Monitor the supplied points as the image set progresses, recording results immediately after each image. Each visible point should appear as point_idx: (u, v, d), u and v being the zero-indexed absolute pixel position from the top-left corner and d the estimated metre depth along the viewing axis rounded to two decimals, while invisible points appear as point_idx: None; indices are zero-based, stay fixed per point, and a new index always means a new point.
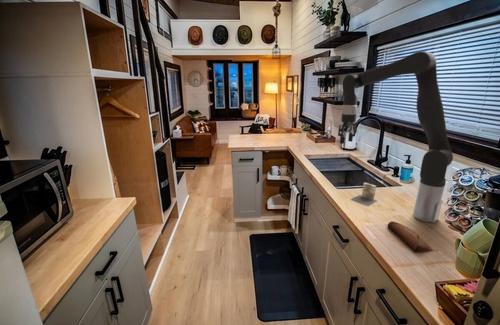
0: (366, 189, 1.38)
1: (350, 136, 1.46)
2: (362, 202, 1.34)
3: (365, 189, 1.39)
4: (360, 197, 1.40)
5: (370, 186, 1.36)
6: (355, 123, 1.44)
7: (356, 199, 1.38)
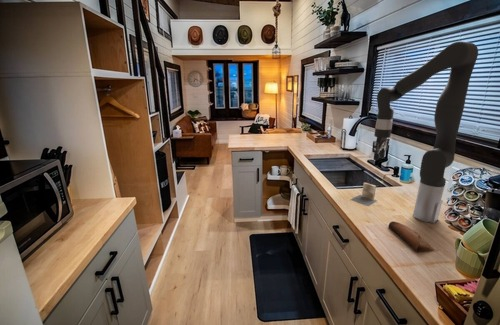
0: (366, 189, 1.38)
1: (382, 152, 1.38)
2: (362, 202, 1.34)
3: (365, 189, 1.39)
4: (360, 197, 1.40)
5: (370, 186, 1.36)
6: (388, 138, 1.37)
7: (356, 199, 1.38)
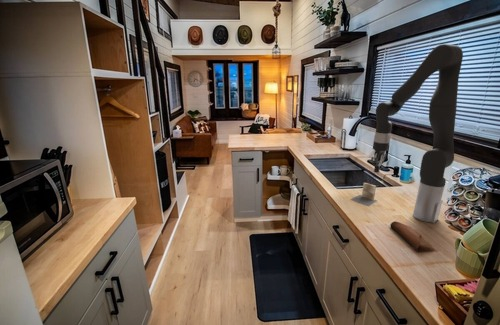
0: (366, 189, 1.38)
1: None
2: (362, 202, 1.34)
3: (365, 189, 1.39)
4: (360, 197, 1.40)
5: (370, 186, 1.36)
6: (386, 154, 1.39)
7: (356, 199, 1.38)
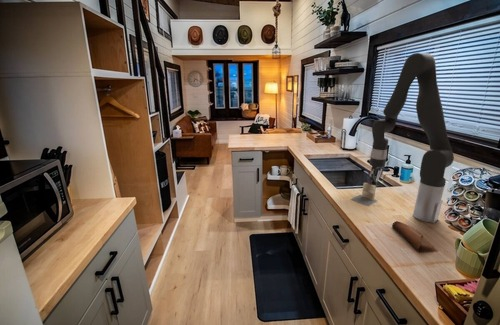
0: (366, 189, 1.38)
1: None
2: (362, 202, 1.34)
3: (365, 189, 1.39)
4: (360, 197, 1.40)
5: (370, 186, 1.36)
6: None
7: (356, 199, 1.38)
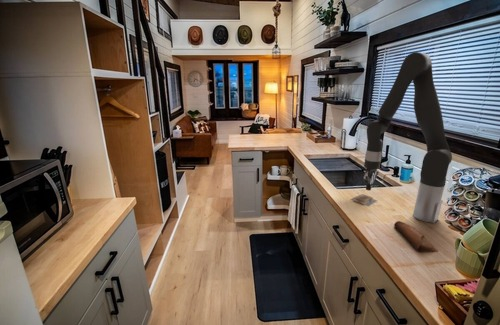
0: None
1: None
2: None
3: None
4: None
5: None
6: None
7: None
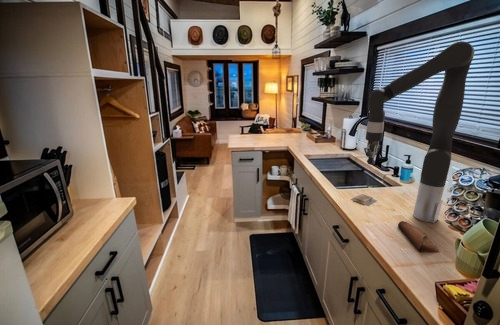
0: None
1: None
2: None
3: None
4: None
5: None
6: (380, 145, 1.32)
7: None
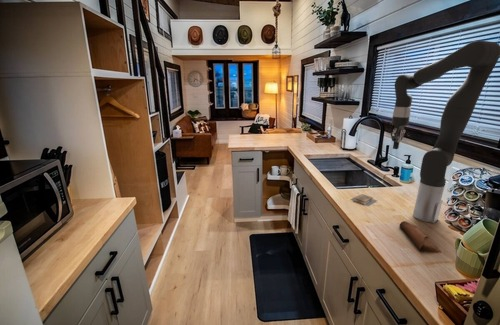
0: None
1: None
2: None
3: None
4: None
5: None
6: (405, 130, 1.35)
7: None
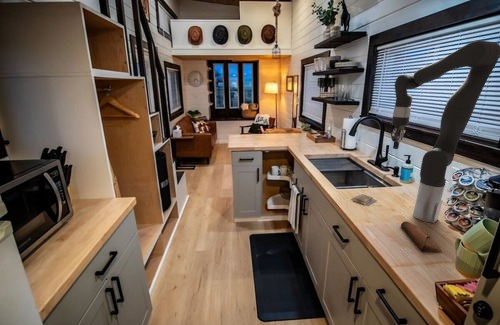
0: None
1: None
2: None
3: None
4: None
5: None
6: (405, 130, 1.35)
7: None
